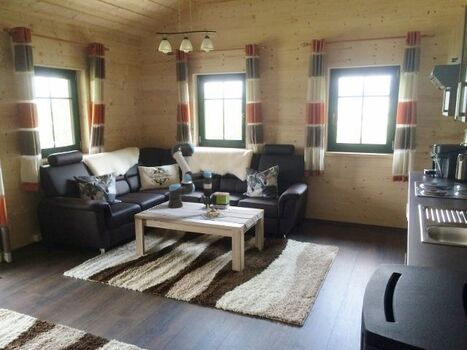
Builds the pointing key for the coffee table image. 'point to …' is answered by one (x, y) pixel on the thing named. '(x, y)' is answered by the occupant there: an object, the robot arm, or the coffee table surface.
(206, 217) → the post base
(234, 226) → the coffee table surface
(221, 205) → the tea box
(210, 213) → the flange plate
